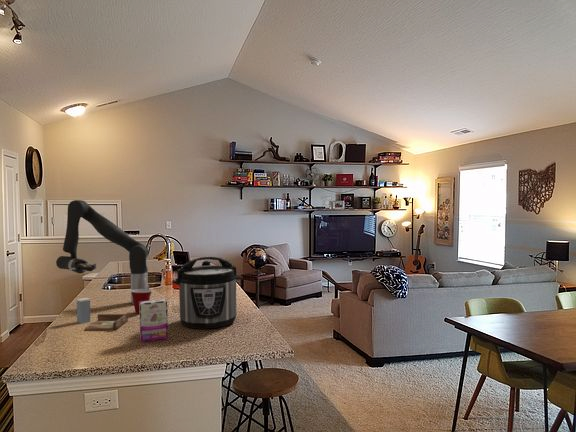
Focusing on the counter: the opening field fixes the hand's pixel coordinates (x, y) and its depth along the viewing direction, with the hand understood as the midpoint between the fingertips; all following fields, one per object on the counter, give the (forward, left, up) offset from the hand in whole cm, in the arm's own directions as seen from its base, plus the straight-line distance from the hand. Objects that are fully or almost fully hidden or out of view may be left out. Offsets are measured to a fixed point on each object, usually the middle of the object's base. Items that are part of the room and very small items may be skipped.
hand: (91, 269), depth 221 cm
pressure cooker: (-33, +55, -24) cm, 69 cm away
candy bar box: (-2, +59, -24) cm, 64 cm away
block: (+8, +10, -24) cm, 27 cm away
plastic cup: (-20, +14, -24) cm, 34 cm away
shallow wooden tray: (+3, +25, -24) cm, 35 cm away
